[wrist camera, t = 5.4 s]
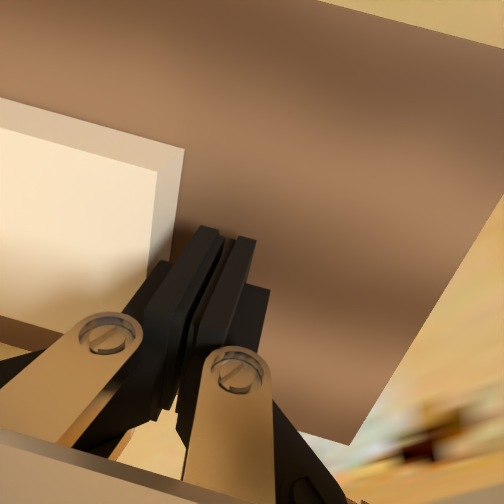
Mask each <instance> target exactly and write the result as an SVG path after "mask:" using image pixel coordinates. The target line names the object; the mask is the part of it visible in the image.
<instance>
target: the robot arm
mask: <svg viewBox="0 0 504 504" xmlns="http://www.w3.org/2000/svg"><path fill="white" fill-rule="evenodd" d="M224 242H225V236H221V235H219V230H218V229H214V228H211V227H207V226H203V225H200V226H199V228H198V229H197V231H196V232H195V234H194V235H193V237H192V238H191V240H190V241H189V243H188V244H187V246H186V247H185V249H184V250H183V252H182V253H181V255H180V256H179V258H178V259H177V261H176V262H175V263H172V262H168V261H165V260H160V261H159V262H158V263H157V265H156V266H155V267H154V269H153V270H152V272H151V273H150V274H149V276H148V277H147V278H146V280H145V281H144V282H143V284H142V285H141V286H140V288H139V289H138V290H137V292H136V293H135V294H134V296H133V297H132V298H131V300H130V301H129V302H128V304H127V305H126V306H125V308H124V309H123V311H122V312H121V313H119V312H101V313H96V314H93V315H90V316H87V317H86V318H84V319H83V320H81V321H79V322H78V323H77V324H76V325H75V326H73V327H72V328H71V329H70V330H69V331H68V332H66V333H65V334H64V335H63V336H62V337H61V338H59V339H58V340H57V341H56V342H55V343H54V344H52V345H51V346H50V347H49V348H46V349H42V350H39V351H35V352H31V353H28V354H24V355H20V356H17V357H13V358H9V359H6V360H2V361H0V504H357V503H355V502H354V501H352V500H350V499H348V498H346V497H345V494H344V492H343V491H342V489H341V488H340V486H339V484H338V483H337V481H336V480H335V479H334V477H333V476H332V475H331V474H330V472H329V471H328V470H327V468H326V467H325V466H324V465H323V463H322V462H321V461H320V459H319V458H318V457H317V456H316V454H315V453H314V452H313V450H312V449H311V448H310V447H309V445H308V444H307V443H306V441H305V440H304V439H303V438H302V436H301V435H300V434H299V432H298V431H297V430H296V429H295V427H294V426H293V425H292V423H291V422H290V421H289V420H288V418H287V417H286V416H285V414H284V413H283V412H282V411H281V409H280V408H279V407H278V405H277V404H276V403H275V402H274V400H273V399H272V378H271V373H270V368H269V367H268V365H267V363H266V362H265V360H264V359H263V358H262V357H260V356H259V355H258V354H257V352H258V348H259V343H260V338H261V334H262V329H263V324H264V320H265V315H266V310H267V306H268V301H269V296H270V291H271V290H270V289H266V288H263V287H259V286H255V285H252V284H248V283H246V282H247V278H248V274H249V270H250V266H251V262H252V258H253V254H254V250H255V246H256V242H257V240H255V239H251V238H247V237H244V236H240V235H239V236H238V238H237V240H236V239H232V238H230V239H229V242H228V244H227V246H226V248H225V250H224V252H223V254H222V251H223V247H224ZM178 389H179V392H178ZM177 392H178V398H177V404H176V409H175V413H178V418H177V424H176V431H177V433H178V434H179V436H180V438H181V440H182V442H183V444H184V446H185V448H186V451H185V456H184V462H183V467H182V473H181V479H180V480H176V479H173V478H170V477H166V476H163V475H160V474H156V473H153V472H150V471H146V470H143V469H140V468H136V467H133V466H130V465H126V464H123V463H120V462H116V460H117V459H118V457H119V456H120V454H121V453H122V451H123V450H124V448H125V447H126V445H127V444H128V442H129V441H130V439H131V437H132V435H133V433H134V431H135V427H137V426H139V425H142V424H144V423H146V422H149V421H150V420H152V421H155V422H156V421H157V419H158V417H159V415H160V412H161V410H162V409H164V410H168V411H169V410H170V408H171V406H172V404H173V401H174V399H175V396H176V394H177ZM358 504H369V503H367V502H365V501H363V500H360V502H359V503H358Z"/></svg>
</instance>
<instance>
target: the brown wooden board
mask: <svg viewBox="0 0 504 504" xmlns="http://www.w3.org/2000/svg"><path fill="white" fill-rule="evenodd" d="M0 97H1V98H4V99H8V100H11V101H15V102H18V103H22V104H25V105H29V106H33V107H36V108H40V109H43V110H47V111H50V112H54V113H58V114H61V115H65V116H68V117H72V118H75V119H79V120H83V121H86V122H90V123H93V124H97V125H100V126H104V127H108V128H111V129H115V130H118V131H122V132H125V133H129V134H133V135H136V136H140V137H143V138H147V139H150V140H154V141H158V142H161V143H165V144H168V145H172V146H175V147H179V148H183V149H185V150H184V157H183V165H182V172H181V179H180V186H179V193H178V200H177V208H176V215H175V222H174V229H173V236H172V243H171V251H170V258H169V262H172V263H175V262H176V261H177V259H178V258H179V256H180V255H181V253H182V252H183V250H184V249H185V247H186V246H187V244H188V243H189V241H190V240H191V238H192V237H193V235H194V234H195V232H196V231H197V229H198V228H199V226H200V225H203V226H207V227H211V228H214V229H218V230H219V235H221V236H225V242H224V247H223V251H222V254H223V252H224V250H225V248H226V246H227V244H228V242H229V239H230V238H232V239H236V240H237V238H238V236H239V235H240V236H244V237H247V238H251V239H255V240H257V242H256V246H255V250H254V254H253V258H252V262H251V266H250V270H249V274H248V278H247V282H246V283H248V284H252V285H255V286H259V287H263V288H266V289H270V290H271V291H270V296H269V301H268V306H267V310H266V315H265V320H264V324H263V329H262V334H261V338H260V343H259V348H258V352H257V354H258V355H259V356H260V357H262V358H263V359H264V360H265V362H266V363H267V365H268V367H269V368H270V373H271V378H272V399H273V400H274V402H275V403H276V404H277V405H278V407H279V408H280V409H281V411H282V412H283V413H284V414H285V416H286V417H287V418H288V420H289V421H290V422H291V423H292V425H293V426H294V427H295V429H296V430H298V431H301V432H305V433H308V434H311V435H315V436H318V437H321V438H325V439H328V440H331V441H335V442H338V443H342V444H345V445H348V446H349V445H350V443H351V442H352V440H353V438H354V437H355V435H356V433H357V432H358V430H359V429H360V427H361V425H362V424H363V422H364V420H365V419H366V417H367V416H368V414H369V412H370V411H371V409H372V407H373V406H374V404H375V402H376V401H377V399H378V398H379V396H380V394H381V393H382V391H383V389H384V388H385V386H386V385H387V383H388V381H389V380H390V378H391V376H392V375H393V373H394V371H395V370H396V368H397V367H398V365H399V363H400V362H401V360H402V358H403V357H404V355H405V354H406V352H407V350H408V349H409V347H410V345H411V344H412V342H413V340H414V339H415V337H416V336H417V334H418V332H419V331H420V329H421V327H422V326H423V324H424V323H425V321H426V319H427V318H428V316H429V314H430V313H431V311H432V309H433V308H434V306H435V305H436V303H437V301H438V300H439V298H440V296H441V295H442V293H443V292H444V290H445V288H446V287H447V285H448V283H449V282H450V280H451V279H452V277H453V275H454V274H455V272H456V270H457V269H458V267H459V265H460V264H461V262H462V261H463V259H464V257H465V256H466V254H467V252H468V251H469V249H470V248H471V246H472V244H473V243H474V241H475V239H476V238H477V236H478V234H479V233H480V231H481V230H482V228H483V226H484V225H485V223H486V221H487V220H488V218H489V217H490V215H491V213H492V212H493V210H494V208H495V207H496V205H497V203H498V202H499V200H500V199H501V197H502V195H503V194H504V49H501V48H498V47H494V46H490V45H486V44H482V43H478V42H475V41H471V40H467V39H463V38H459V37H455V36H452V35H448V34H444V33H440V32H436V31H432V30H429V29H425V28H421V27H417V26H413V25H409V24H406V23H402V22H398V21H394V20H390V19H386V18H383V17H379V16H375V15H371V14H367V13H363V12H360V11H356V10H352V9H348V8H344V7H340V6H337V5H333V4H329V3H325V2H321V1H317V0H0ZM63 335H64V334H63V333H60V332H56V331H53V330H49V329H46V328H43V327H39V326H36V325H32V324H29V323H25V322H22V321H19V320H15V319H12V318H8V317H5V316H1V315H0V342H2V343H5V344H8V345H12V346H15V347H18V348H22V349H25V350H29V351H32V352H35V351H39V350H42V349H46V348H49V347H50V346H51V345H52V344H54V343H55V342H56V341H57V340H58V339H59V338H61V337H62V336H63ZM178 392H179V389H178ZM178 392H177V395H178Z"/></svg>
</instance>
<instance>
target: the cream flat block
mask: <svg viewBox="0 0 504 504" xmlns="http://www.w3.org/2000/svg"><path fill="white" fill-rule="evenodd" d="M184 150H185V149H183V148H179V147H175V146H172V145H168V144H165V143H161V142H158V141H154V140H150V139H147V138H143V137H140V136H136V135H133V134H129V133H125V132H122V131H118V130H115V129H111V128H108V127H104V126H100V125H97V124H93V123H90V122H86V121H83V120H79V119H75V118H72V117H68V116H65V115H61V114H58V113H54V112H50V111H47V110H43V109H40V108H36V107H33V106H29V105H25V104H22V103H18V102H15V101H11V100H8V99H4V98H1V97H0V315H1V316H5V317H8V318H12V319H15V320H19V321H22V322H25V323H29V324H32V325H36V326H39V327H43V328H46V329H49V330H53V331H56V332H60V333H63V334H65V333H66V332H68V331H69V330H70V329H71V328H72V327H73V326H75V325H76V324H77V323H78V322H79V321H81V320H83V319H84V318H86V317H87V316H90V315H93V314H96V313H101V312H119V313H121V312H122V311H123V309H124V308H125V306H126V305H127V304H128V302H129V301H130V300H131V298H132V297H133V296H134V294H135V293H136V292H137V290H138V289H139V288H140V286H141V285H142V284H143V282H144V281H145V280H146V278H147V277H148V276H149V274H150V273H151V272H152V270H153V269H154V267H155V266H156V265H157V263H158V262H159V261H160V260H165V261H168V262H169V258H170V251H171V243H172V236H173V229H174V222H175V215H176V208H177V200H178V193H179V186H180V179H181V172H182V165H183V157H184Z"/></svg>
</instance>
